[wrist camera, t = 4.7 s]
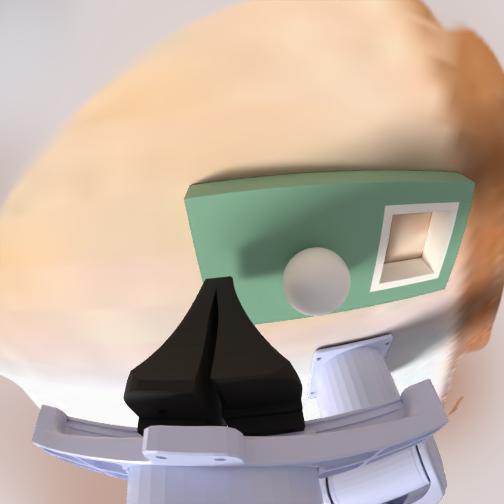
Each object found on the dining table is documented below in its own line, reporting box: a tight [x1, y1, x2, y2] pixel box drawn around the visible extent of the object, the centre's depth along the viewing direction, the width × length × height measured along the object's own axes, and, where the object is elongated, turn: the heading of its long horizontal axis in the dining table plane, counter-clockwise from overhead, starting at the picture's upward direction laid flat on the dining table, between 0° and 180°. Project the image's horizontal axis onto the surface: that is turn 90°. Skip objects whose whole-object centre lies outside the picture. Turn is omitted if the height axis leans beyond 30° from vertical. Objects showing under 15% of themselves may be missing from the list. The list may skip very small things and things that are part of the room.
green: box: [184, 170, 475, 324], centre depth 16 cm, size 9×18×2 cm, turn 95°
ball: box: [282, 247, 350, 316], centre depth 14 cm, size 4×4×4 cm
